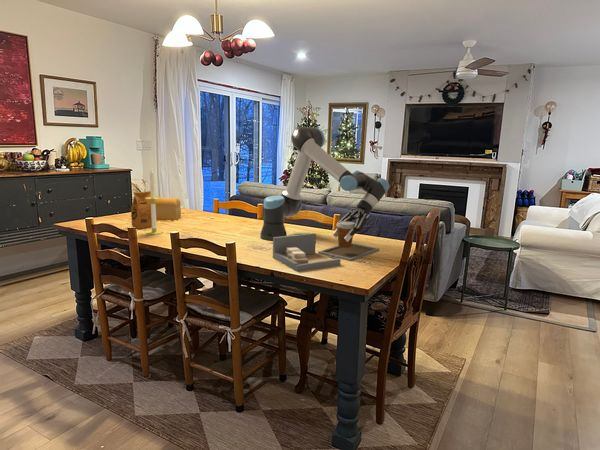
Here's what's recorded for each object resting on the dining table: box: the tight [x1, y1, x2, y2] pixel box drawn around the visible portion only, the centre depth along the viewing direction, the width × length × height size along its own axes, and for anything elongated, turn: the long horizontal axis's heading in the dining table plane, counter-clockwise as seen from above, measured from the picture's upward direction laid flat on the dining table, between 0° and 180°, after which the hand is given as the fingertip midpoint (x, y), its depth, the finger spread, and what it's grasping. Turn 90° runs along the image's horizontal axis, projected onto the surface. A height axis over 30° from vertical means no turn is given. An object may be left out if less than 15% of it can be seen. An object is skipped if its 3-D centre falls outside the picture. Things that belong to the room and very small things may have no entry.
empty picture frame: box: [318, 242, 380, 262], centre depth 212 cm, size 19×2×30 cm
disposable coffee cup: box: [336, 220, 356, 248], centre depth 208 cm, size 10×10×12 cm
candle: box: [145, 168, 161, 235], centre depth 240 cm, size 10×10×38 cm
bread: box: [155, 196, 182, 221], centre depth 282 cm, size 24×13×15 cm, turn 92°
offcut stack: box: [284, 247, 309, 264], centre depth 192 cm, size 18×6×6 cm, turn 21°
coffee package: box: [130, 190, 152, 230], centre depth 255 cm, size 10×12×22 cm
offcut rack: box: [272, 232, 342, 272], centre depth 194 cm, size 23×23×10 cm
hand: (340, 237), depth 207 cm, fingers closed on disposable coffee cup, 9 cm apart
